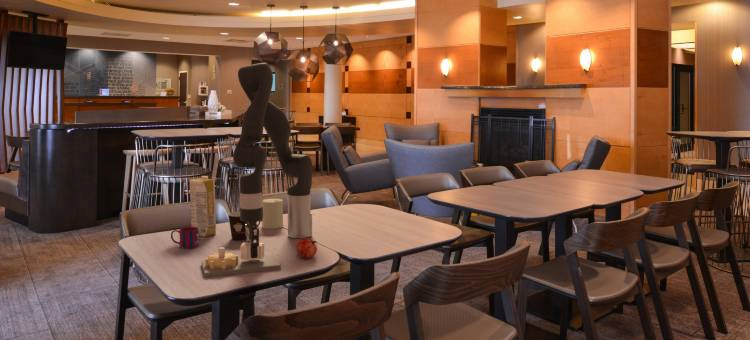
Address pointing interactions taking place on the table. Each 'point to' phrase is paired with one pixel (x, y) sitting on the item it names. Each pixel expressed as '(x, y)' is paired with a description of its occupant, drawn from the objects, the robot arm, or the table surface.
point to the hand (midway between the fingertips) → (252, 254)
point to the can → (272, 213)
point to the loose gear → (247, 251)
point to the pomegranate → (306, 248)
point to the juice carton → (203, 205)
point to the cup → (187, 237)
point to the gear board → (236, 264)
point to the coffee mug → (237, 227)
